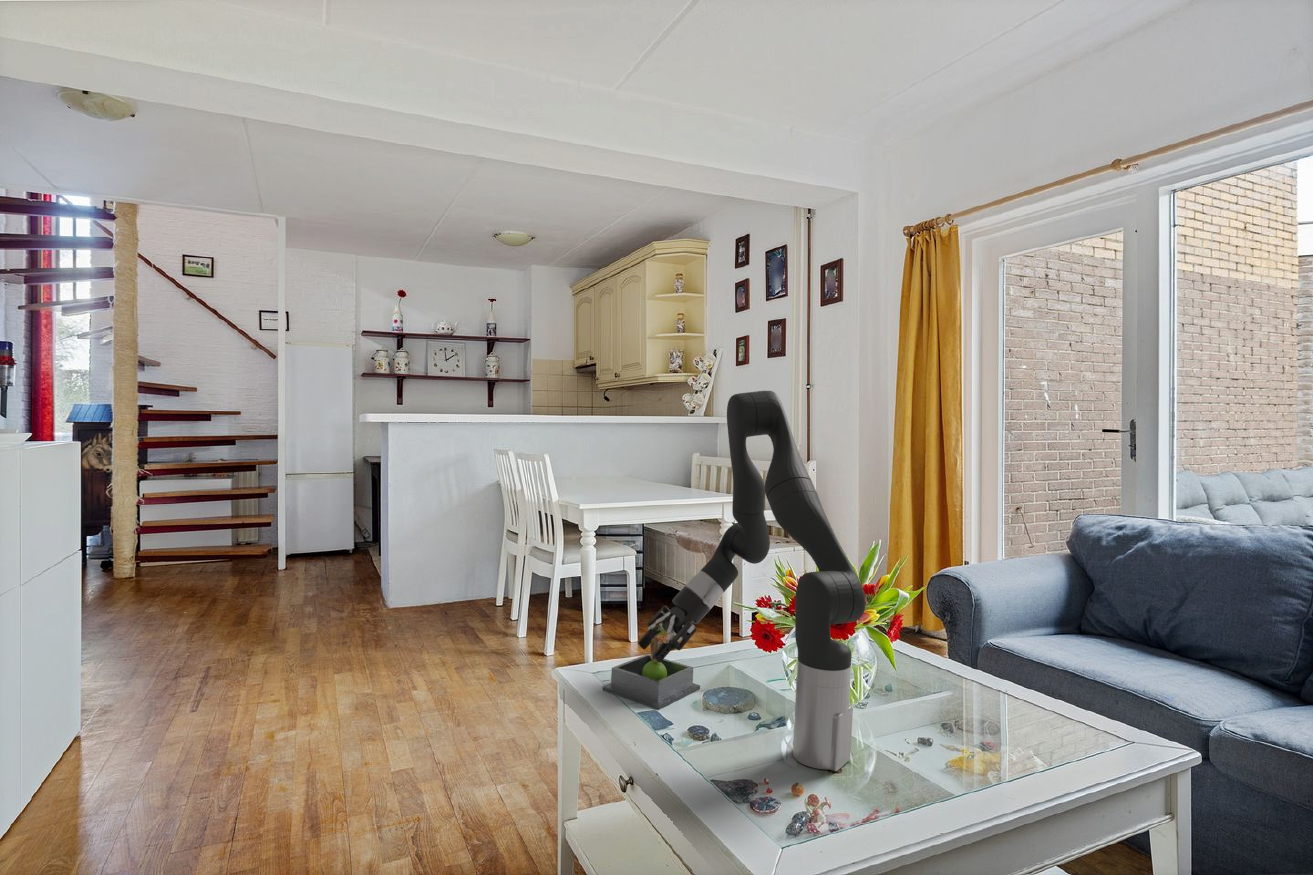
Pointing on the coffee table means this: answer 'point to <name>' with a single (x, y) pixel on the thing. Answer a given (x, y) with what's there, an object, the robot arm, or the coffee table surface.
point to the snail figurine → (654, 663)
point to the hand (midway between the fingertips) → (648, 652)
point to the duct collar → (651, 682)
